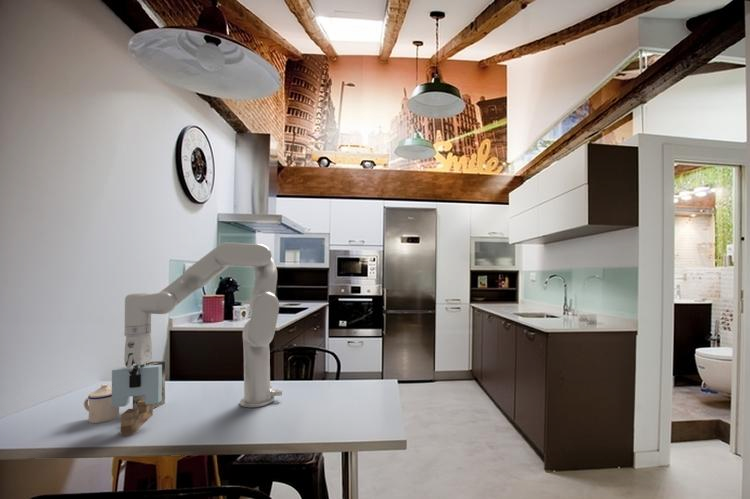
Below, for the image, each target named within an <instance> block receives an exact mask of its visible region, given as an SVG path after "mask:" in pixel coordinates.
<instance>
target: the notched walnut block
mask: <svg viewBox="0 0 750 499" xmlns="http://www.w3.org/2000/svg"><path fill="white" fill-rule="evenodd" d="M153 409H154V408H153V404H145V397H143V398H142V399H141V400H139V401H138V402H137V408H133V407H132V408H127V409H126V410H125V411H124V412H122V413H121V414H120V437H125V436H124V435H127V436H132V435H133V434H135V433H136V431H137V430H138V429H140V427H142V426H143V425H144V424H145V423H146V422H147V421H148V420H149V419H150V418H152V416H153V415H154V414H153V413H154V412H153Z"/></svg>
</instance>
